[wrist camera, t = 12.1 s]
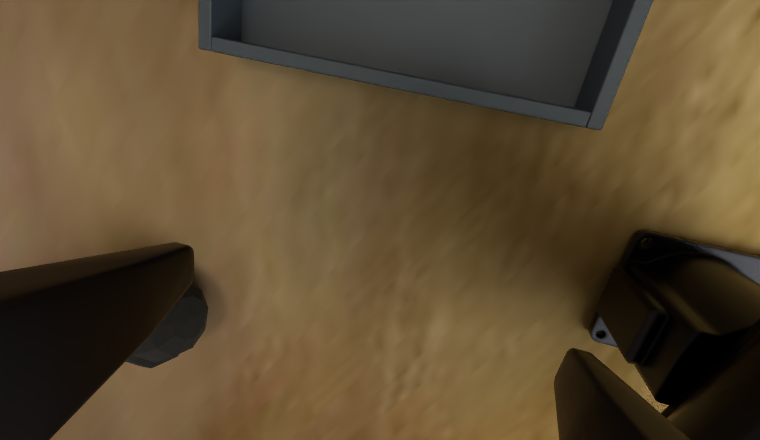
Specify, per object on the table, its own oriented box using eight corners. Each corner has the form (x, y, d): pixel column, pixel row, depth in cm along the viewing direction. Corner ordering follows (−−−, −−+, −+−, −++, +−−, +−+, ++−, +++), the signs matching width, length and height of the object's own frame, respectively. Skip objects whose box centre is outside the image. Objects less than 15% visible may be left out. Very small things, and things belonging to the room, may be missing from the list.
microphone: (53, 306, 33) (240, 308, 26) (-14, 367, 29) (188, 390, 21) (0, 260, 30) (195, 249, 23) (-84, 321, 26) (124, 330, 18)
